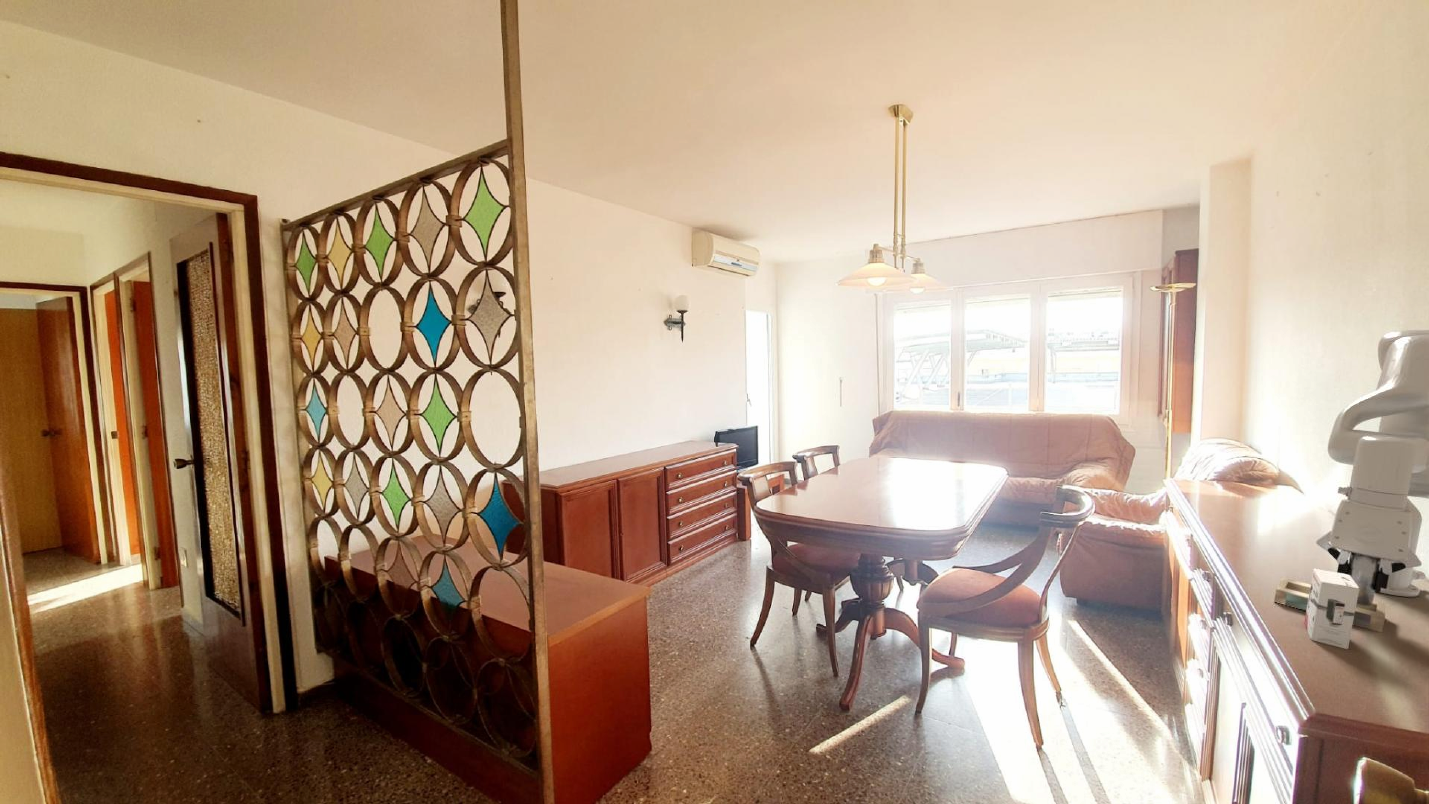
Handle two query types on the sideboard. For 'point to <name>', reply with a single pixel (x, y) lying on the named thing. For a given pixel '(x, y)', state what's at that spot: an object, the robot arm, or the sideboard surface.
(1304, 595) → the socket block
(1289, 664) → the sideboard surface
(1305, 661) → the sideboard surface
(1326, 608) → the ink box
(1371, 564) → the peg
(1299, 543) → the sideboard surface
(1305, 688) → the sideboard surface
